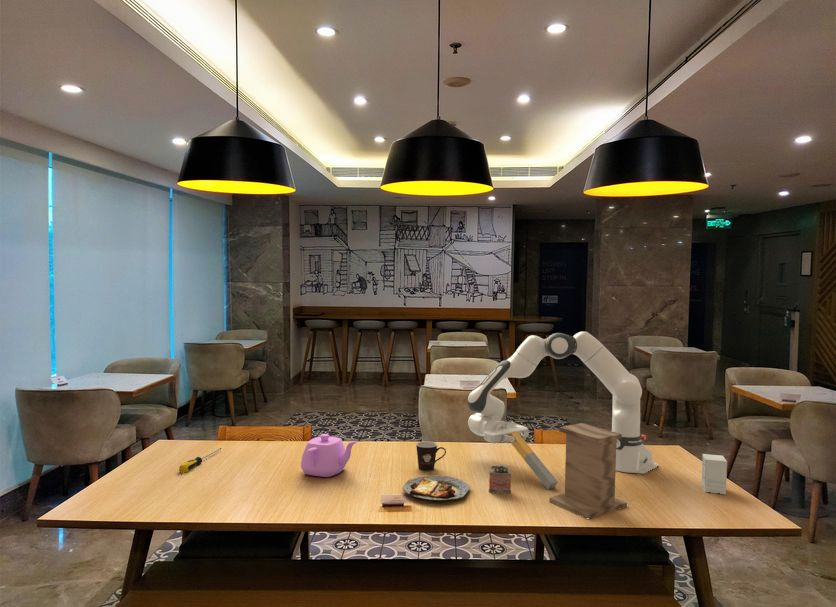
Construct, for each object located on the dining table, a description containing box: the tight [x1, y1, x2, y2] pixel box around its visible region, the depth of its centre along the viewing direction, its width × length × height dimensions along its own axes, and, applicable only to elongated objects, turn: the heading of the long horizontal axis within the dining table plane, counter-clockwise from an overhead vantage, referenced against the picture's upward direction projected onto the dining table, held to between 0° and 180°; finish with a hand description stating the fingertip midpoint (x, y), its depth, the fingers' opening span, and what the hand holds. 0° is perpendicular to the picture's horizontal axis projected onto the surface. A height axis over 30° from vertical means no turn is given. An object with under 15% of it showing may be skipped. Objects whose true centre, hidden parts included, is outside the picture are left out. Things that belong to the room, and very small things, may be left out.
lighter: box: [488, 464, 512, 495], centre depth 206 cm, size 8×3×10 cm, turn 84°
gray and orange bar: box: [509, 432, 558, 490], centre depth 219 cm, size 3×26×3 cm
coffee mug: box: [415, 440, 447, 472], centre depth 230 cm, size 12×9×10 cm
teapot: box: [300, 433, 358, 478], centre depth 222 cm, size 23×21×15 cm
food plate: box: [402, 474, 471, 502], centre depth 205 cm, size 25×23×4 cm
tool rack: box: [549, 422, 628, 519], centre depth 196 cm, size 20×17×26 cm
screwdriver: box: [178, 447, 222, 474], centre depth 235 cm, size 3×3×30 cm
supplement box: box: [701, 453, 728, 495], centre depth 211 cm, size 7×7×13 cm
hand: (519, 438), depth 225 cm, fingers open, 4 cm apart
